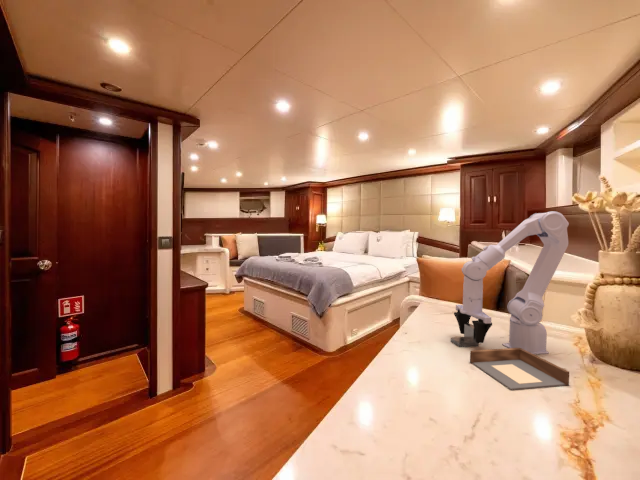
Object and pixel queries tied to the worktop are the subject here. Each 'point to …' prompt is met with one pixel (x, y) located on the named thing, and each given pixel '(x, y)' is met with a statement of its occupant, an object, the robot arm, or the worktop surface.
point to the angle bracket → (466, 337)
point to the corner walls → (523, 356)
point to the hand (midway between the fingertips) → (471, 337)
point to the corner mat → (517, 374)
